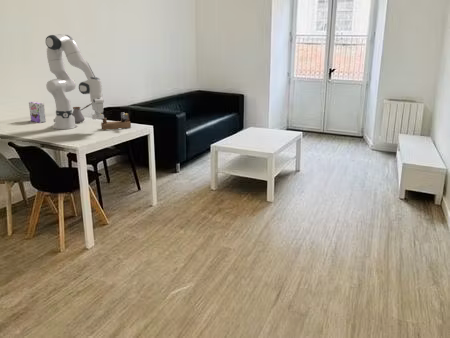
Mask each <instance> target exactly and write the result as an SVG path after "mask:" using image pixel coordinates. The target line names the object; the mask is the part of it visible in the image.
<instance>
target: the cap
mask: <svg viewBox="0 0 450 338" xmlns="http://www.w3.org/2000/svg"><path fill="white" fill-rule="evenodd" d="M97 115H98V114H91V118H92V120H103V119H104V118H105V115H104V113H101V114H100V118H98V116H97Z"/></svg>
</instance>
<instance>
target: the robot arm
mask: <svg viewBox="0 0 450 338" xmlns="http://www.w3.org/2000/svg"><path fill="white" fill-rule="evenodd" d="M45 45H46V47H47V48H46V58H47V63H48V67H49V72H51V73H52V74H53V75H54V76H55V77H56V78H53V79H50V80H48V81H47V83H46V84H45V85H46V90H47V91H48V92H49V93H50V94H51V95H52V96H53V99H54V103H55V118H53V126H52V129H53V130H54V129H55V130H56V129H57V130H69V129H74V128H77V127H79V126H78V124H76V123H75V118H74V116H72V113H73V111H72V110H73V109H72V106H71V105H72V104H71V99H70V98H69V97H67V96H66V95H67V94H66V93H68V92H72V91H74V90H75V89H76V86H77V84H76V82H75V80H74V79H73V78H71V76H70V75H69V73H68V72H67V69H66V66H65V61H64V58H63V51H64V54H65V57H66V60H67V62H68V64H69V65H70V66H71V67H72V66H73V67H75V68H77V69H80V70H81V71H82V72H83V73H84V75H85V77H86V78H87V79H86V80H84V81H81V82H80V83H79V84H78V91H79V92H80V94H83V95H90V102H91V103H92V104H91V108H92V110H93V111H94V113H95V114H98V115H97V116H98V118H100V114H104V102H105V101H104V98H103V93H102V91H103V88H102V87H103V86H102V81H101V79H100V78H99V77H96V75H95V73H94V71H93V70H92V68H91V66H90V64H89V63H88V61H87V60H86V59H85V58H84V56H83V54H82V52H81V49H80V48H79V45H78V44H77V42H76V41H75V40H74V39H73V37H72V36H70V35H69V34H50V35H48V36H46V37H45ZM95 114H94V115H95Z"/></svg>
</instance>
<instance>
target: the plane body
mask: <svg viewBox="0 0 450 338" xmlns="http://www.w3.org/2000/svg"><path fill="white" fill-rule="evenodd" d="M127 115H128V119H125V122H121V120H120V121H119V120H117V121H108V120H107V117H104V119H102V122H101V123H100V124H101V125H100V126H101V130H103V131H107V130H106V129H114V130H119V129H118V128H125V129H131V128H132V125H131V121H130V114H129V113H127ZM130 127H131V128H130Z"/></svg>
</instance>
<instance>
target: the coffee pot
mask: <svg viewBox="0 0 450 338" xmlns="http://www.w3.org/2000/svg"><path fill="white" fill-rule="evenodd" d="M90 106H92V102H91V103H89V104H87V105H86V106H84V107H82V108H81V107H80V106H73V107H72V108H73V109H72V110H73V111H72V116H74V118H75V124H80V122H82V123H83V122H84V121H85V116H84V115H83V113H82V111H83V110H84V109H87V108H88V107H90Z"/></svg>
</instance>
